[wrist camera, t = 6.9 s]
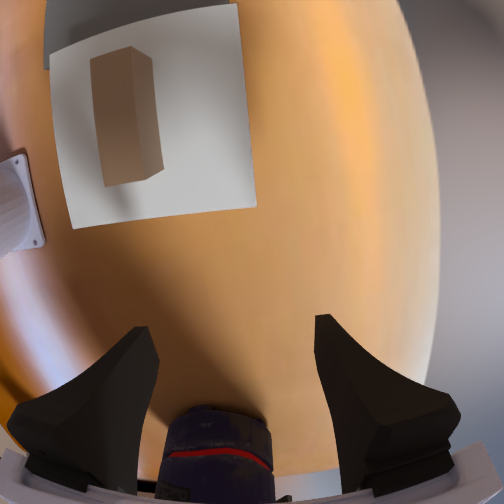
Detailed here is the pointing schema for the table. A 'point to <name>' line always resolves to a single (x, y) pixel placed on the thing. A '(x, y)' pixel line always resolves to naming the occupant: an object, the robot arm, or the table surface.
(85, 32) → the mat
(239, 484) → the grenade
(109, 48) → the lid
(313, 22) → the table surface
